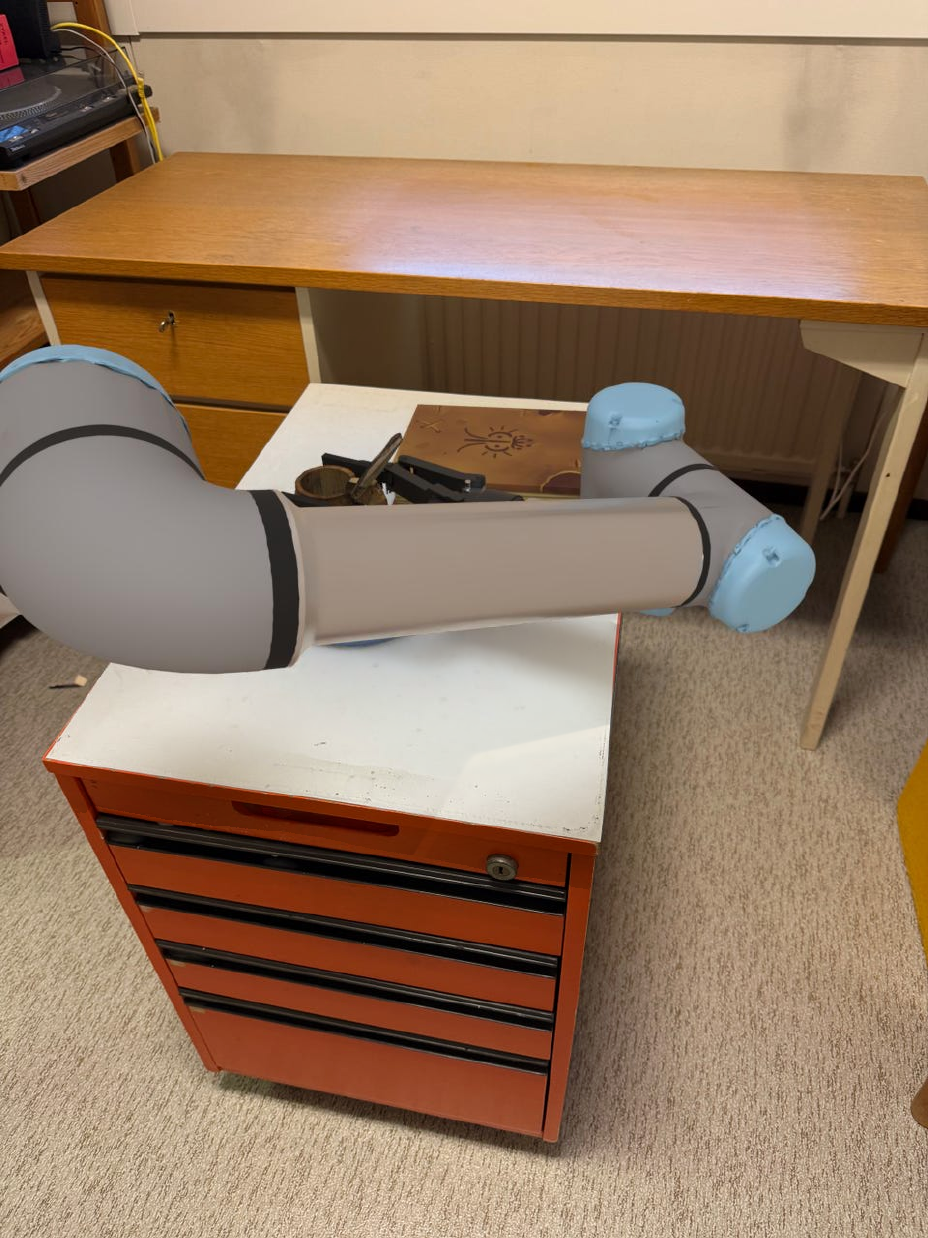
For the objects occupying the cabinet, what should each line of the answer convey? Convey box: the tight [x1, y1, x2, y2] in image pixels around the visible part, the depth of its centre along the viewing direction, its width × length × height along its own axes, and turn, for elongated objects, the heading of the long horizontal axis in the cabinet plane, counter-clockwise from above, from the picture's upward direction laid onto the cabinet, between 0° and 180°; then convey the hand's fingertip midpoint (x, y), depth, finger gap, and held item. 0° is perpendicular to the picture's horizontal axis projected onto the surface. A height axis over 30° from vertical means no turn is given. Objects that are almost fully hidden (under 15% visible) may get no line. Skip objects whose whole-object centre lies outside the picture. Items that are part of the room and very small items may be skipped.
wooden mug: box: [293, 432, 403, 506], centre depth 87 cm, size 9×14×18 cm, turn 65°
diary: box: [391, 403, 587, 505], centre depth 108 cm, size 23×19×6 cm
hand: (304, 484), depth 88 cm, fingers closed on wooden mug, 7 cm apart
